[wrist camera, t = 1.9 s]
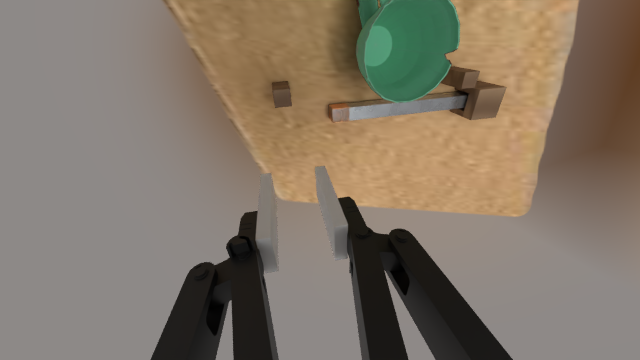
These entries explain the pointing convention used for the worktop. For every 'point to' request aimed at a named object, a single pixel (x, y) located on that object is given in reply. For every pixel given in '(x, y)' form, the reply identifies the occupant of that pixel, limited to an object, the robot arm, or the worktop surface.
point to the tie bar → (396, 107)
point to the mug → (406, 46)
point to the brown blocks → (481, 94)
